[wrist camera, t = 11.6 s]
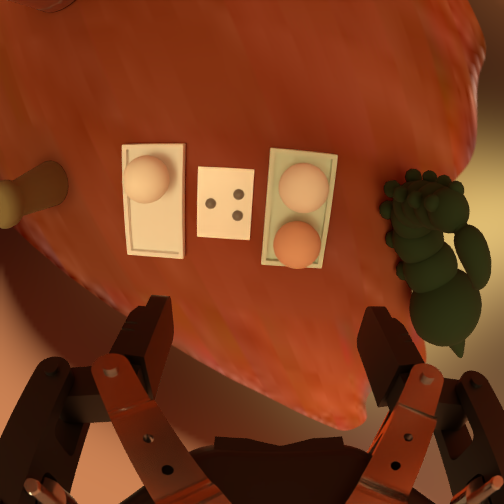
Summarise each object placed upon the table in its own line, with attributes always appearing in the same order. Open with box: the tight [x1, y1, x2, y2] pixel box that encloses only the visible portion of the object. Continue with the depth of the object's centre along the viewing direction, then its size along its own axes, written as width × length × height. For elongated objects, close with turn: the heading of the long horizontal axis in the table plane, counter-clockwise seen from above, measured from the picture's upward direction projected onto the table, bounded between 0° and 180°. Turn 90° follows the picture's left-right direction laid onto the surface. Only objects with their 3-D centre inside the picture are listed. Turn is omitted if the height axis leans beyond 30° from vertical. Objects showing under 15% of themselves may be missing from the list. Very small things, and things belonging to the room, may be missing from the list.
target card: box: [197, 166, 254, 240], centre depth 34 cm, size 8×6×1 cm
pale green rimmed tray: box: [261, 147, 338, 268], centre depth 34 cm, size 13×7×1 cm, turn 176°
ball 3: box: [273, 221, 321, 269], centre depth 33 cm, size 5×5×5 cm
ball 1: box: [122, 155, 170, 204], centre depth 31 cm, size 5×5×5 cm
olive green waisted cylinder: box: [0, 161, 68, 229], centre depth 29 cm, size 6×6×11 cm
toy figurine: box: [379, 169, 491, 358], centre depth 28 cm, size 9×19×25 cm
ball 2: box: [279, 163, 329, 213], centre depth 31 cm, size 5×5×5 cm
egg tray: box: [122, 143, 186, 259], centre depth 34 cm, size 13×7×1 cm, turn 176°
